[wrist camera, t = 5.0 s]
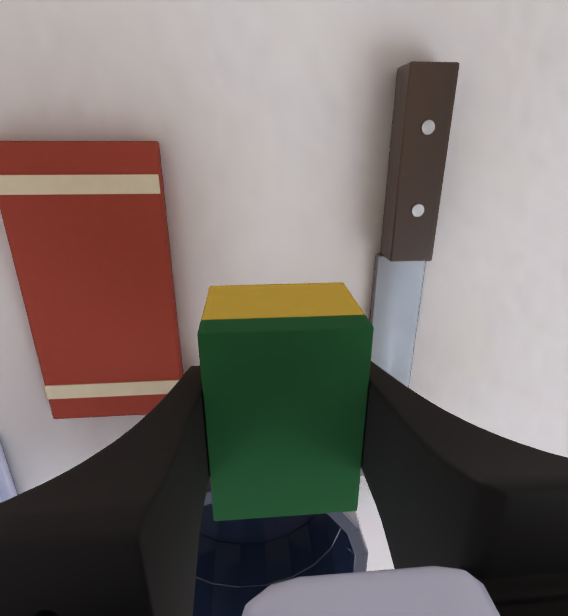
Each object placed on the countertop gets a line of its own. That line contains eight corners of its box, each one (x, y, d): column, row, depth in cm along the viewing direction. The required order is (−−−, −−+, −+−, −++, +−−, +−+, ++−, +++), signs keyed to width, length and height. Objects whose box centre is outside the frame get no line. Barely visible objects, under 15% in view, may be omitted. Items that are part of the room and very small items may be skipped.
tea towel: (60, 409, 20) (52, 420, 19) (-6, 141, 15) (-19, 141, 15) (186, 403, 20) (184, 413, 20) (159, 141, 16) (154, 141, 15)
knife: (356, 470, 23) (363, 491, 22) (391, 67, 16) (405, 60, 14) (394, 468, 23) (404, 488, 22) (447, 68, 16) (467, 61, 14)
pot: (166, 548, 24) (145, 658, 19) (144, 405, 20) (111, 494, 15) (336, 536, 25) (359, 638, 20) (345, 395, 21) (377, 477, 16)
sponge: (220, 441, 15) (213, 522, 12) (209, 285, 13) (197, 333, 10) (334, 435, 15) (357, 511, 12) (343, 281, 13) (374, 326, 10)
